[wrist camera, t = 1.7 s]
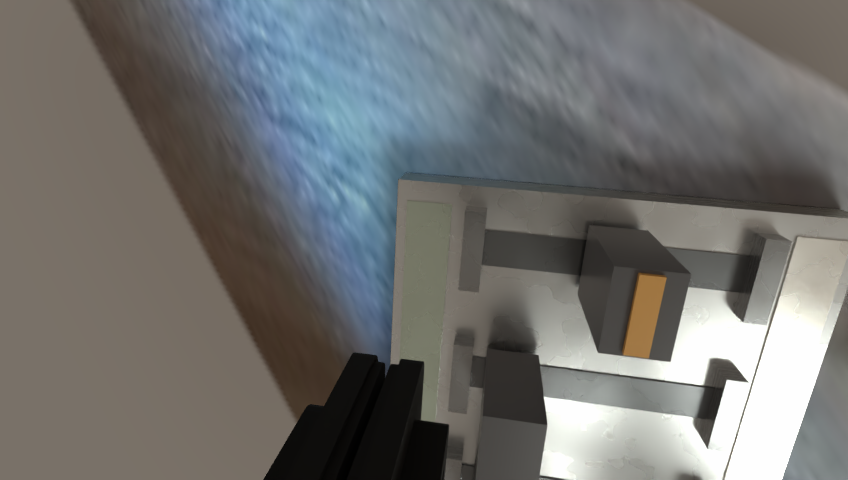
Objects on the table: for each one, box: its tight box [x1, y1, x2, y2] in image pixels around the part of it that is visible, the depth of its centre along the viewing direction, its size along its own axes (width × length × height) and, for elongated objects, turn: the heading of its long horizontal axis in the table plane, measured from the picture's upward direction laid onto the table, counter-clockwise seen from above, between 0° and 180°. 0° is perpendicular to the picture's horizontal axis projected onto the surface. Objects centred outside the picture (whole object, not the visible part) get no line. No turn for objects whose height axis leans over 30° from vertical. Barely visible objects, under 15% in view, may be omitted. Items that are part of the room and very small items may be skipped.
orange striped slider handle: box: [578, 225, 691, 362], centre depth 21 cm, size 4×3×6 cm
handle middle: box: [475, 349, 548, 480], centre depth 23 cm, size 4×3×6 cm
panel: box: [390, 172, 848, 480], centre depth 26 cm, size 20×21×3 cm
